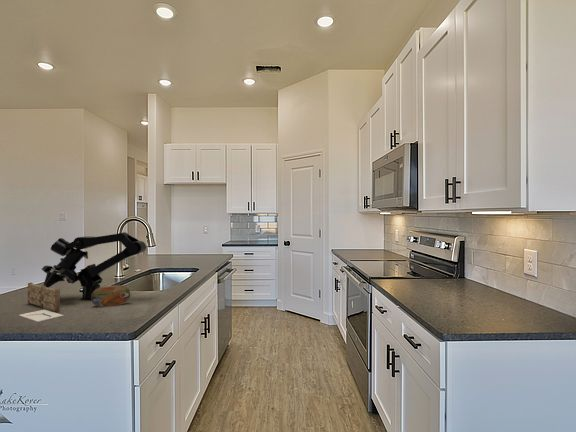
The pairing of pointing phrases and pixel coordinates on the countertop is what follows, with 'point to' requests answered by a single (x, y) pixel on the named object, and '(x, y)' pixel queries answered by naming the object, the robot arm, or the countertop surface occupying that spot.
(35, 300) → the fence panel
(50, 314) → the card
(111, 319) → the countertop surface
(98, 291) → the tin
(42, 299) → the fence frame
